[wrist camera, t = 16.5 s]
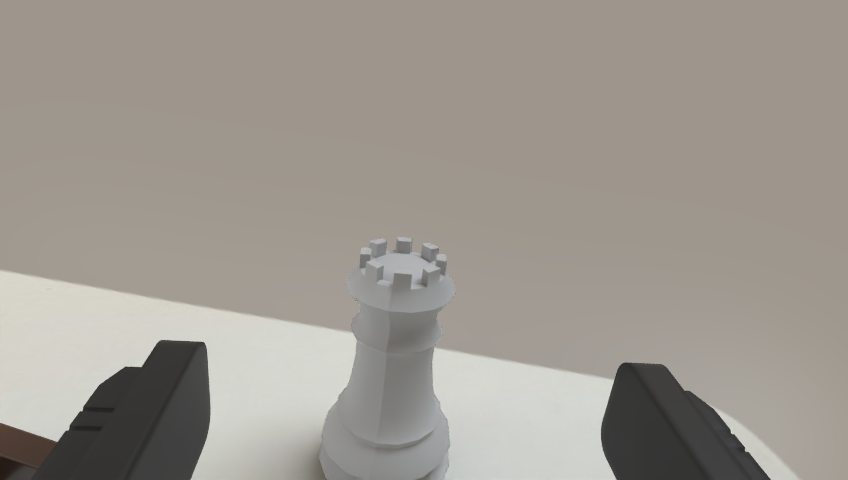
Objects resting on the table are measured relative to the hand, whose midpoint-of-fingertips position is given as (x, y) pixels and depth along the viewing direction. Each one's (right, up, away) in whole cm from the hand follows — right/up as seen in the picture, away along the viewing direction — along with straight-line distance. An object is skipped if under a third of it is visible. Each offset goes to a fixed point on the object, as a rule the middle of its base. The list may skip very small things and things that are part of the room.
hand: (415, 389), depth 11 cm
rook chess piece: (-1, -5, +8) cm, 10 cm away
